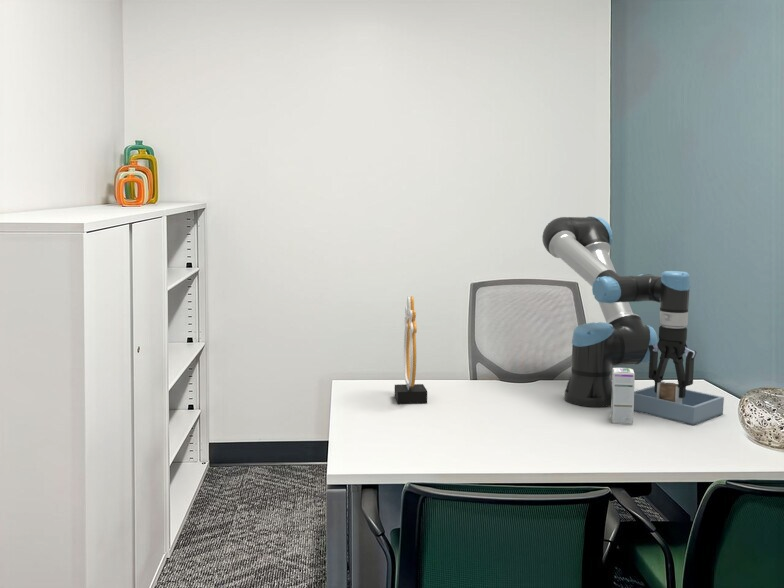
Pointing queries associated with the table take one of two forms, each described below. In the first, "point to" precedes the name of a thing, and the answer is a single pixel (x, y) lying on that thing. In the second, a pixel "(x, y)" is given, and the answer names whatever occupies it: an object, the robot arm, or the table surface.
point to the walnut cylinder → (668, 391)
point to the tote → (679, 406)
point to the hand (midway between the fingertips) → (669, 406)
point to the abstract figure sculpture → (410, 362)
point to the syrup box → (622, 395)
